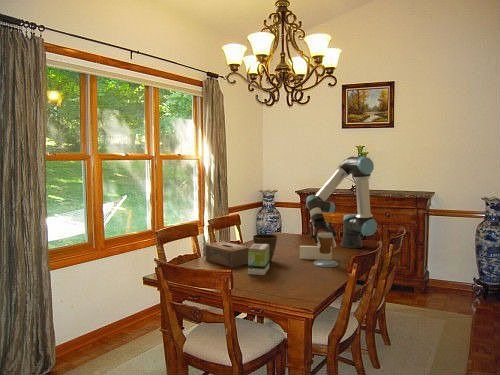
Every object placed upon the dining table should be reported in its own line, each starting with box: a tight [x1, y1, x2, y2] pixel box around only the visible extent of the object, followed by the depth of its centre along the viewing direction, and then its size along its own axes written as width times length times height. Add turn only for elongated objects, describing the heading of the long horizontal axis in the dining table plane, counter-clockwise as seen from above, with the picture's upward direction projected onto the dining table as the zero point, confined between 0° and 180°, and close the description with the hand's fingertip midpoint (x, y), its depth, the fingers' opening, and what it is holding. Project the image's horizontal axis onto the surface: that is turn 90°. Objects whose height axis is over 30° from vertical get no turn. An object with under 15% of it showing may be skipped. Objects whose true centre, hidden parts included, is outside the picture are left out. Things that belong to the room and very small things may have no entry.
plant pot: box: [252, 233, 278, 263], centre depth 266 cm, size 15×15×16 cm
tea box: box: [247, 243, 270, 276], centre depth 244 cm, size 15×10×15 cm, turn 168°
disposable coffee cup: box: [317, 231, 333, 254], centre depth 257 cm, size 10×10×12 cm
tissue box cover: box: [205, 241, 251, 268], centre depth 267 cm, size 26×14×10 cm, turn 43°
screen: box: [299, 245, 333, 261], centre depth 271 cm, size 20×2×8 cm, turn 80°
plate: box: [313, 259, 340, 268], centre depth 259 cm, size 15×15×1 cm
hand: (327, 246), depth 254 cm, fingers closed on disposable coffee cup, 9 cm apart
